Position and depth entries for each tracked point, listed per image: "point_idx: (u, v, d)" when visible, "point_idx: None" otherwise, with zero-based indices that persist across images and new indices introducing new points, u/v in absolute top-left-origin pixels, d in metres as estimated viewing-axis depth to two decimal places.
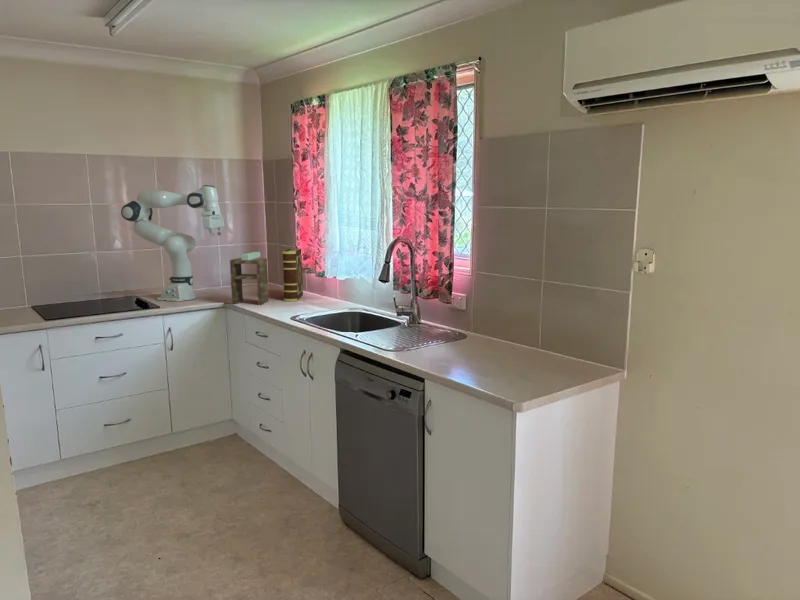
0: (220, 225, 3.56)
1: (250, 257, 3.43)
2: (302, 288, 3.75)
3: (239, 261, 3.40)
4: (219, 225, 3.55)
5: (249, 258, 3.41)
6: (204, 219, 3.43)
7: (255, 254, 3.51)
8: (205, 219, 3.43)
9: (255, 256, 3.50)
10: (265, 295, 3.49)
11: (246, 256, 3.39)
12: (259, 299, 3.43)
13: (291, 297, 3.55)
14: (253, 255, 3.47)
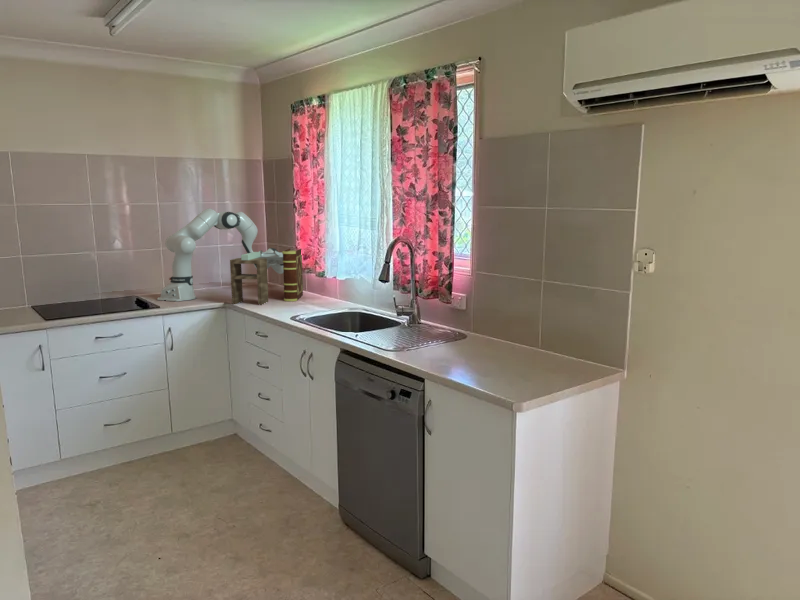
0: (264, 257, 3.80)
1: (250, 257, 3.43)
2: (302, 288, 3.75)
3: (239, 261, 3.40)
4: (266, 257, 3.80)
5: (249, 258, 3.41)
6: None
7: (255, 254, 3.51)
8: None
9: (255, 256, 3.50)
10: (265, 295, 3.49)
11: (246, 256, 3.39)
12: (259, 299, 3.43)
13: (291, 297, 3.55)
14: (253, 255, 3.47)
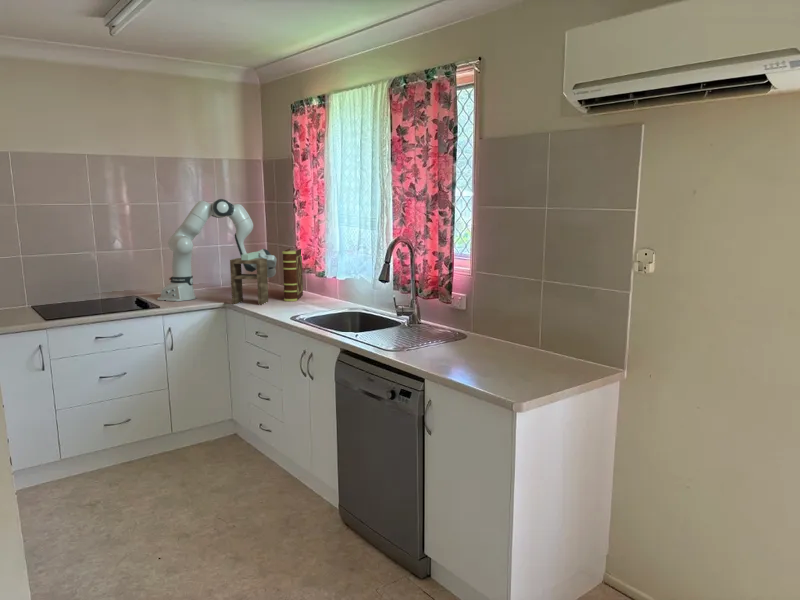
0: None
1: (250, 257, 3.43)
2: (302, 288, 3.75)
3: (239, 261, 3.40)
4: None
5: (249, 258, 3.41)
6: (275, 259, 3.63)
7: (255, 254, 3.51)
8: (275, 260, 3.63)
9: (255, 256, 3.50)
10: (265, 295, 3.49)
11: (246, 256, 3.39)
12: (259, 299, 3.43)
13: (291, 297, 3.55)
14: (253, 255, 3.47)
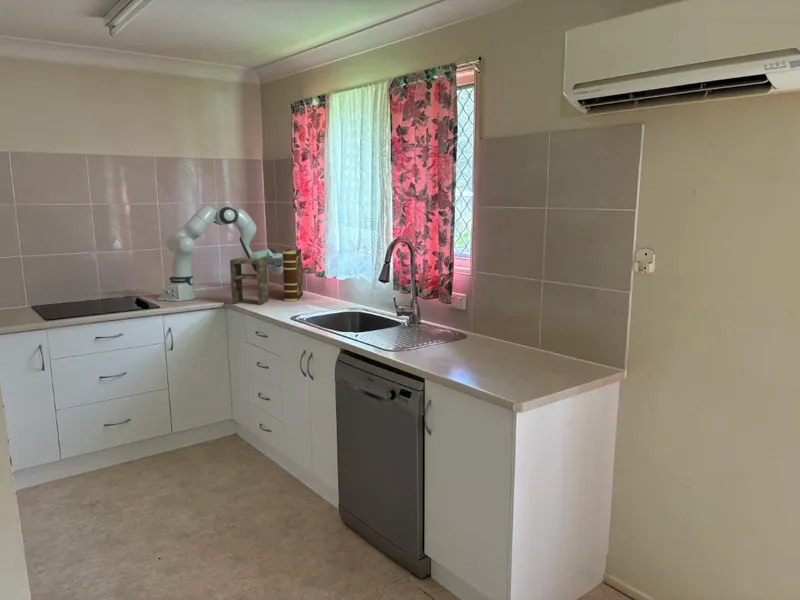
0: None
1: (259, 255, 3.57)
2: (302, 288, 3.75)
3: (239, 261, 3.40)
4: None
5: (258, 256, 3.55)
6: None
7: (264, 253, 3.65)
8: None
9: (264, 254, 3.64)
10: (265, 295, 3.49)
11: (255, 254, 3.53)
12: (259, 299, 3.43)
13: (291, 297, 3.55)
14: (262, 253, 3.61)
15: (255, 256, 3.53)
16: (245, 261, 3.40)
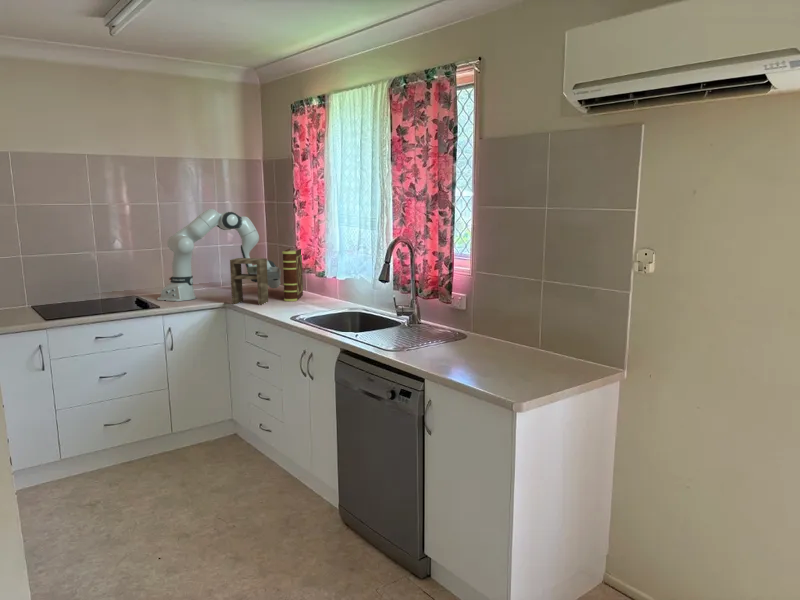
0: (256, 272, 3.69)
1: (256, 269, 3.52)
2: (302, 288, 3.75)
3: (239, 261, 3.40)
4: None
5: (255, 270, 3.50)
6: (280, 271, 3.72)
7: None
8: (280, 272, 3.72)
9: None
10: (265, 295, 3.49)
11: (252, 268, 3.48)
12: (259, 299, 3.43)
13: (291, 297, 3.55)
14: None
15: (251, 270, 3.48)
16: (245, 261, 3.40)
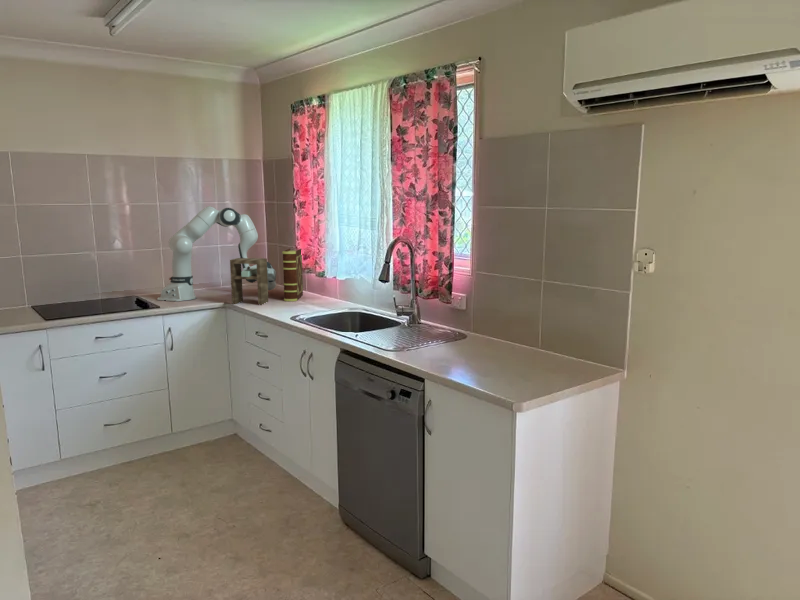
0: None
1: (250, 273, 3.43)
2: (302, 288, 3.75)
3: (239, 261, 3.40)
4: None
5: (249, 275, 3.42)
6: (275, 272, 3.64)
7: (255, 270, 3.51)
8: (275, 273, 3.63)
9: (255, 272, 3.51)
10: (265, 295, 3.49)
11: (246, 273, 3.40)
12: (259, 299, 3.43)
13: (291, 297, 3.55)
14: (253, 271, 3.48)
15: (246, 274, 3.40)
16: (245, 261, 3.40)
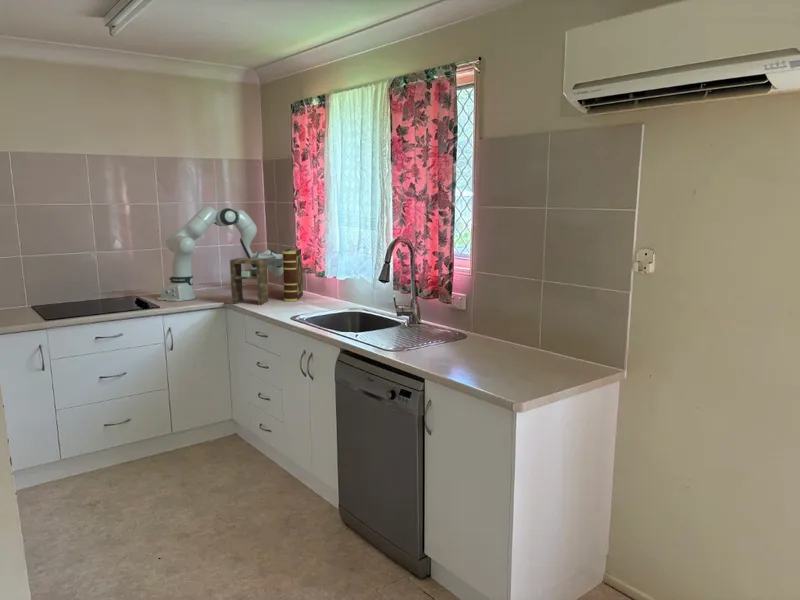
0: None
1: (250, 273, 3.43)
2: (302, 288, 3.75)
3: (239, 261, 3.40)
4: None
5: (249, 275, 3.42)
6: None
7: (255, 270, 3.51)
8: None
9: (255, 272, 3.51)
10: (265, 295, 3.49)
11: (246, 273, 3.40)
12: (259, 299, 3.43)
13: (291, 297, 3.55)
14: (253, 271, 3.48)
15: (246, 274, 3.40)
16: (245, 261, 3.40)
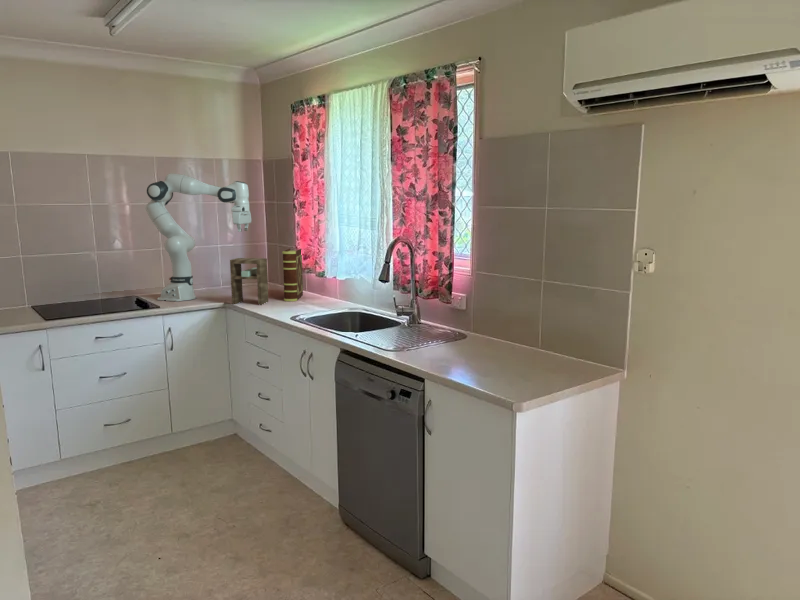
0: (248, 221, 3.64)
1: (250, 273, 3.43)
2: (302, 288, 3.75)
3: (239, 261, 3.40)
4: (247, 221, 3.62)
5: (249, 275, 3.42)
6: (234, 214, 3.50)
7: (255, 270, 3.51)
8: (234, 215, 3.50)
9: (255, 272, 3.51)
10: (265, 295, 3.49)
11: (246, 273, 3.40)
12: (259, 299, 3.43)
13: (291, 297, 3.55)
14: (253, 271, 3.48)
15: (246, 274, 3.40)
16: (245, 261, 3.40)
